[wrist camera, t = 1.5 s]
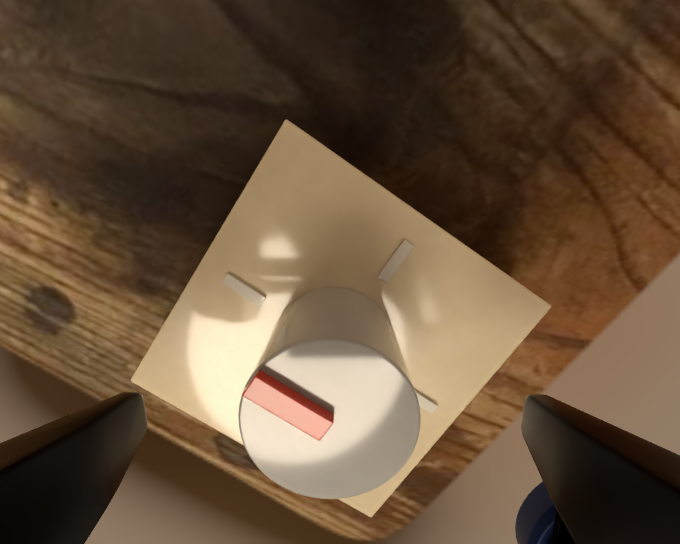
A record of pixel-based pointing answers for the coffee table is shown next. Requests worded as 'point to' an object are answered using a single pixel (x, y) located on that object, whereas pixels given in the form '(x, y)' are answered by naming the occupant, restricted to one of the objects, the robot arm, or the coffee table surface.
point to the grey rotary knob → (330, 398)
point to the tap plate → (336, 271)
